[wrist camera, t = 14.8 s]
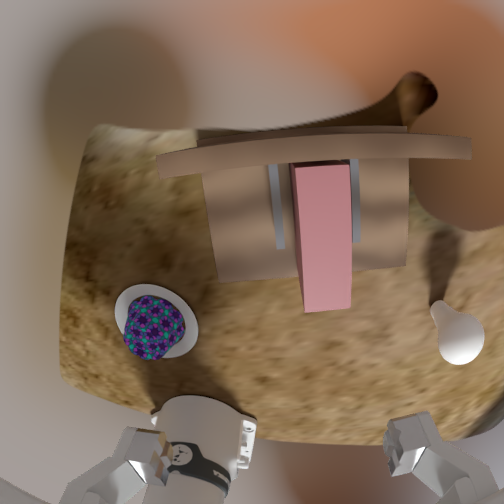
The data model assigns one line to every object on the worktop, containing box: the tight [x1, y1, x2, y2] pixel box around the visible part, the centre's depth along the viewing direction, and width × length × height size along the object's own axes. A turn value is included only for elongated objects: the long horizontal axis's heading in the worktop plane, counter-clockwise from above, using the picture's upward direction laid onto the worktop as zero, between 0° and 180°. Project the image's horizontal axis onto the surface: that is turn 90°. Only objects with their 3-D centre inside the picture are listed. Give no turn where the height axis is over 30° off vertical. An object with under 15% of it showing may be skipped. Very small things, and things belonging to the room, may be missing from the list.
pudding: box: [115, 284, 198, 360], centre depth 37 cm, size 12×12×5 cm
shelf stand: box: [156, 126, 472, 283], centre depth 26 cm, size 16×22×13 cm
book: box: [289, 160, 352, 313], centre depth 28 cm, size 12×4×9 cm, turn 7°
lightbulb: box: [430, 300, 484, 365], centre depth 31 cm, size 6×6×11 cm
